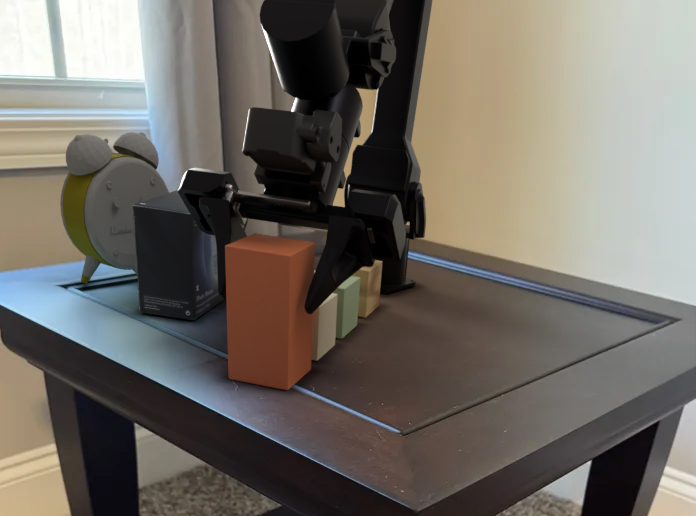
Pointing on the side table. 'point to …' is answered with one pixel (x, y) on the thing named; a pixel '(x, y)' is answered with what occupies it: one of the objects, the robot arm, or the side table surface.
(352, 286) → the cube
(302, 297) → the tall block
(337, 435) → the side table surface
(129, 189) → the alarm clock
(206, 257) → the small box
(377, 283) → the cube
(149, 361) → the side table surface
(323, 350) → the cube
